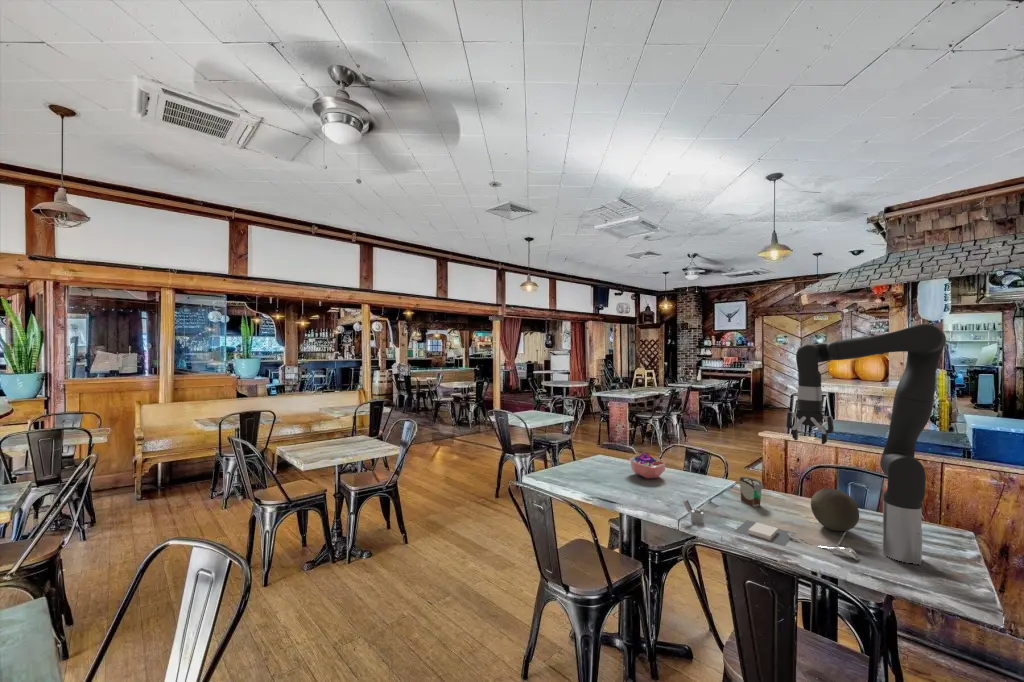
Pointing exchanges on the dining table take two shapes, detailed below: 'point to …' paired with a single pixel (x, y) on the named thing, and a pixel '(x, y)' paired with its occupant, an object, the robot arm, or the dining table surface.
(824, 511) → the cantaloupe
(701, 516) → the lighter
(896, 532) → the robot arm
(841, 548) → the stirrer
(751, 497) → the food container
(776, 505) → the dining table surface
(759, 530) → the tile
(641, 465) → the cell model
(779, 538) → the mat
